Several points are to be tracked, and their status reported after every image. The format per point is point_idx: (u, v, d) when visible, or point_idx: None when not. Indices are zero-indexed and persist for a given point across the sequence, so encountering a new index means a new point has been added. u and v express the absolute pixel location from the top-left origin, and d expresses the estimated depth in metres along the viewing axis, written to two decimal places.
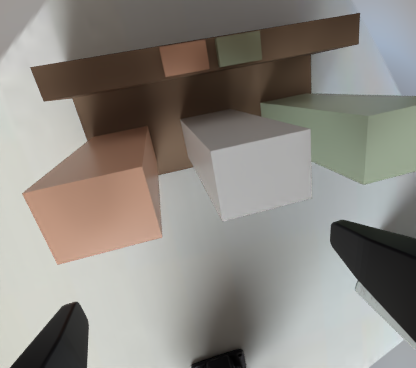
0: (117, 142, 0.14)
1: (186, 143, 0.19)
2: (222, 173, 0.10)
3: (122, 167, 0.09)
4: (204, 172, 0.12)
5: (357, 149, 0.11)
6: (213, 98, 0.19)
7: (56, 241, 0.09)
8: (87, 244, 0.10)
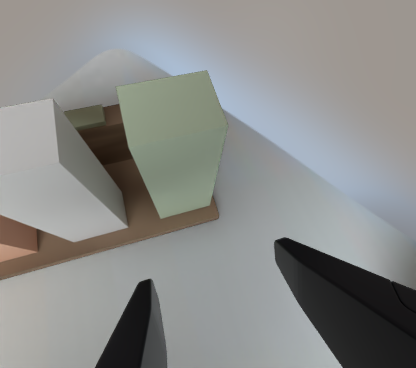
0: None
1: None
2: None
3: None
4: None
5: None
6: None
7: None
8: None
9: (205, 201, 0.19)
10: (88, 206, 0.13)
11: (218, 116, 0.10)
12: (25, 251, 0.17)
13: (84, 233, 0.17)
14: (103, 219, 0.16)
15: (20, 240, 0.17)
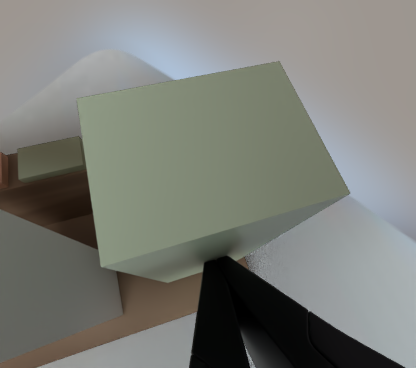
0: None
1: None
2: None
3: None
4: None
5: None
6: (90, 245, 0.14)
7: None
8: None
9: None
10: None
11: (322, 170, 0.04)
12: None
13: None
14: None
15: None
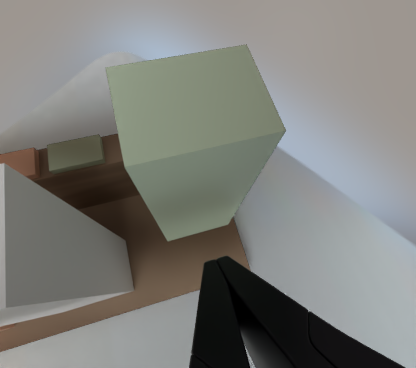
0: None
1: None
2: None
3: None
4: None
5: None
6: None
7: None
8: None
9: (224, 221, 0.15)
10: (75, 301, 0.09)
11: (269, 116, 0.06)
12: None
13: (75, 307, 0.13)
14: (100, 298, 0.11)
15: None
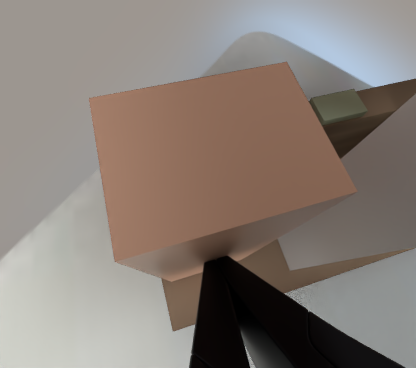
0: None
1: (287, 244, 0.14)
2: None
3: None
4: (376, 204, 0.07)
5: None
6: None
7: (126, 194, 0.04)
8: (192, 204, 0.04)
9: None
10: None
11: None
12: (237, 259, 0.14)
13: None
14: None
15: None
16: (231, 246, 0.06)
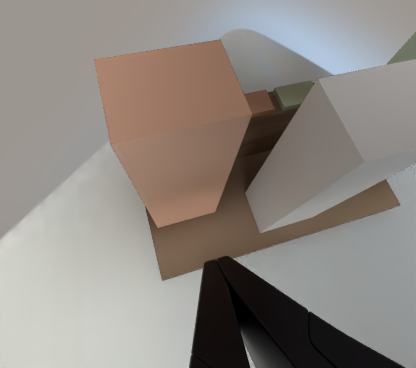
0: None
1: (257, 210, 0.17)
2: (340, 100, 0.08)
3: None
4: (303, 163, 0.10)
5: None
6: None
7: (116, 112, 0.07)
8: (154, 118, 0.07)
9: None
10: (358, 190, 0.12)
11: None
12: (211, 209, 0.17)
13: (285, 223, 0.16)
14: (326, 207, 0.15)
15: None
16: (189, 166, 0.09)
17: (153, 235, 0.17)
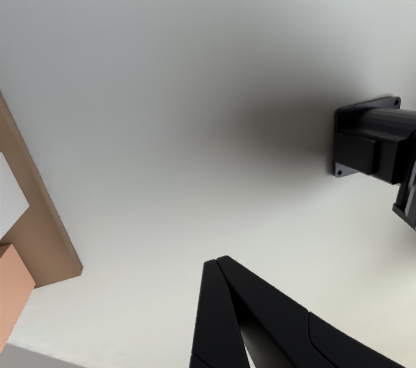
0: None
1: None
2: None
3: None
4: None
5: None
6: None
7: None
8: None
9: None
10: None
11: None
12: (8, 254, 0.18)
13: (10, 198, 0.16)
14: None
15: None
16: None
17: (43, 284, 0.20)
